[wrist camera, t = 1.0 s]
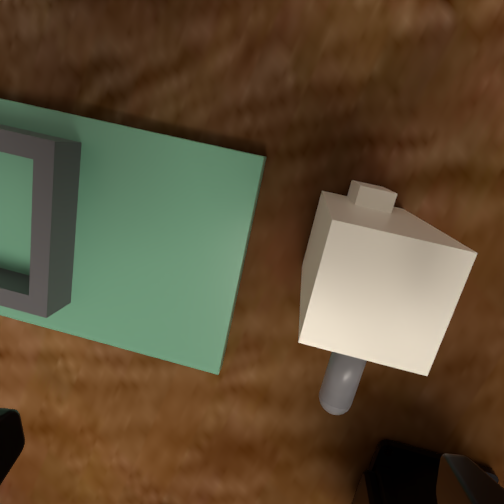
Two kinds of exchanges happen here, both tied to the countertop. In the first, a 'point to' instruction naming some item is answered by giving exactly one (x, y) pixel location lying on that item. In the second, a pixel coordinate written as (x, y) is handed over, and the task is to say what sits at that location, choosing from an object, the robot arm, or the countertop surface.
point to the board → (123, 233)
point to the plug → (376, 288)
